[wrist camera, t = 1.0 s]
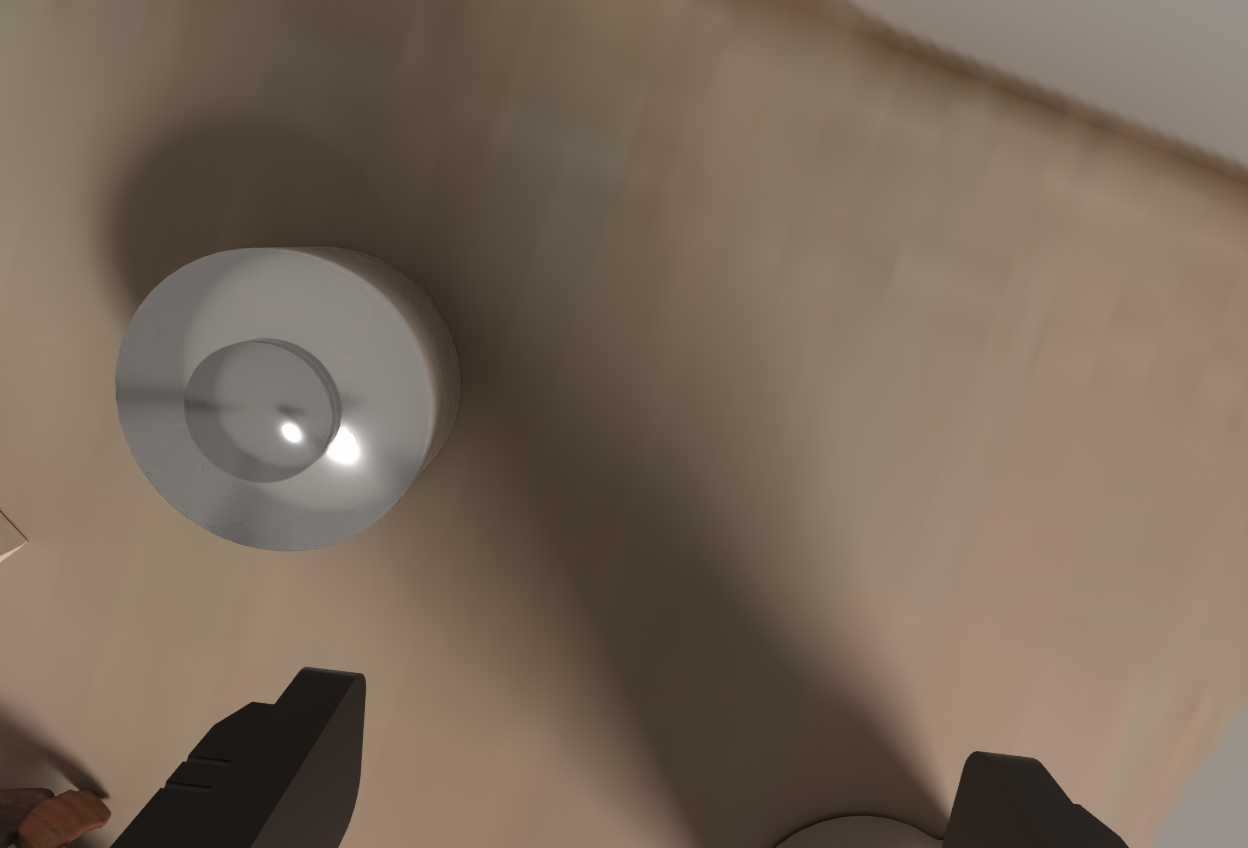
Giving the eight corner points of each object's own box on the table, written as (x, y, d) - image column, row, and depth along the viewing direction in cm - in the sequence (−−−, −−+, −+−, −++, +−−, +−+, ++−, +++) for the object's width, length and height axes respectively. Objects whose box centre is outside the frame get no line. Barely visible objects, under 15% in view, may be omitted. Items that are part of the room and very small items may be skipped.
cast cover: (444, 236, 26) (393, 234, 20) (476, 488, 28) (439, 552, 23) (181, 257, 26) (56, 262, 21) (233, 506, 28) (133, 575, 23)
